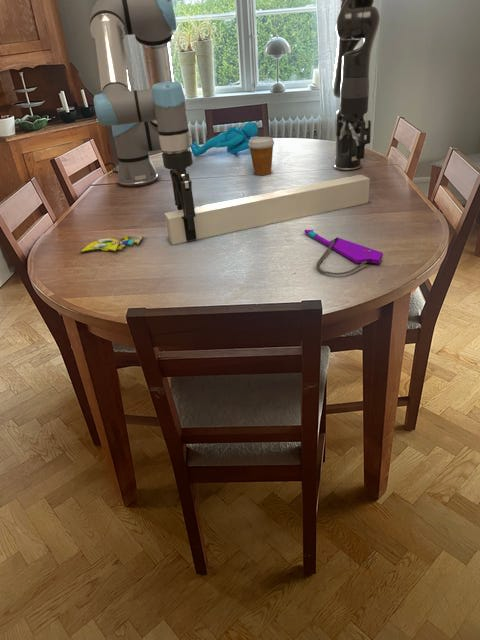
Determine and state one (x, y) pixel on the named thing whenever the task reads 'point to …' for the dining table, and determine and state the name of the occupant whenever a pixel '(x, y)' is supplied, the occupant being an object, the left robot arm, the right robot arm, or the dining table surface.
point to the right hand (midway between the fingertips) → (351, 155)
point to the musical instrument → (347, 252)
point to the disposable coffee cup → (261, 154)
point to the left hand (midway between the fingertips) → (188, 235)
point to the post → (270, 207)
